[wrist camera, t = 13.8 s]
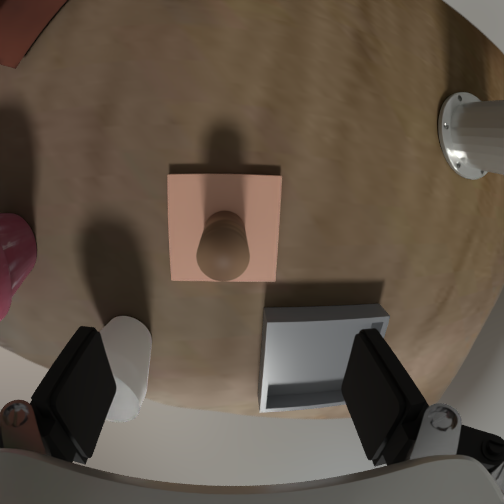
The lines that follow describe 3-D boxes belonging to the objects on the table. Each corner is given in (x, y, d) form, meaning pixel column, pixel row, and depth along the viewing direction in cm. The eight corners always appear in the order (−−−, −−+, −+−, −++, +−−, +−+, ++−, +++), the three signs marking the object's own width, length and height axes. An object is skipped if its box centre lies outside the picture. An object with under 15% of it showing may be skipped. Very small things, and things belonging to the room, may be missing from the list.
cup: (138, 298, 35) (106, 356, 24) (172, 351, 38) (157, 417, 26) (88, 318, 35) (50, 373, 24) (122, 366, 38) (99, 426, 27)
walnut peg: (245, 210, 31) (250, 231, 24) (244, 250, 33) (249, 281, 25) (204, 210, 31) (195, 231, 23) (204, 249, 32) (197, 281, 25)
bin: (378, 303, 38) (390, 316, 34) (354, 387, 43) (361, 401, 39) (263, 307, 36) (267, 322, 33) (257, 395, 42) (259, 412, 38)
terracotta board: (280, 175, 31) (281, 176, 30) (274, 278, 35) (275, 281, 34) (169, 173, 30) (167, 174, 29) (172, 276, 34) (171, 280, 33)
